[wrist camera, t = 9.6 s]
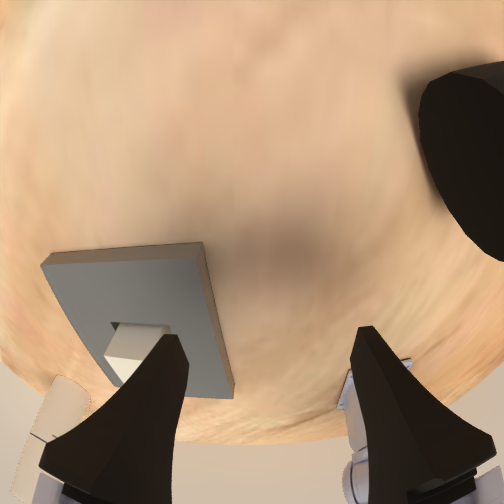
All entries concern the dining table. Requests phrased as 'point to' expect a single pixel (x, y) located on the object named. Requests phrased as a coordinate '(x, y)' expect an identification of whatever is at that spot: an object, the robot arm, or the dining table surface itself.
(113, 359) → the plug
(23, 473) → the cylindrical container
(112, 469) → the robot arm
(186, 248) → the socket plate
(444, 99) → the black white cylinder
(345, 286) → the dining table surface
